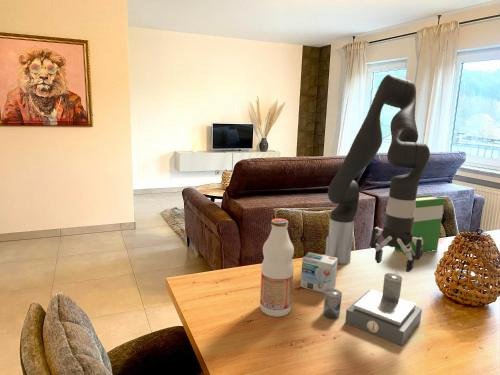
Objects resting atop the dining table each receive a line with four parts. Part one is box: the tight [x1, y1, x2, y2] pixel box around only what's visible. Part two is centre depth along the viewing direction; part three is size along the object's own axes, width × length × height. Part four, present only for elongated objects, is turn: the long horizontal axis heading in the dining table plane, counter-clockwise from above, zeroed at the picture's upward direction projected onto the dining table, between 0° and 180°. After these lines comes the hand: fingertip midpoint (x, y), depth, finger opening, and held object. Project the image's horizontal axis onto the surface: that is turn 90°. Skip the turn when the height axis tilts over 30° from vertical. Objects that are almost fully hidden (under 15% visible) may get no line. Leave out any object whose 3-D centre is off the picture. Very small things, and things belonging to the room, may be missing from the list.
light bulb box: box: [300, 251, 338, 294], centre depth 128 cm, size 11×7×11 cm, turn 62°
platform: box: [353, 288, 417, 326], centre depth 108 cm, size 13×13×1 cm
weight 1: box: [322, 288, 343, 319], centre depth 111 cm, size 5×5×7 cm
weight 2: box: [382, 272, 403, 303], centre depth 110 cm, size 5×5×7 cm
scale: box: [344, 290, 423, 346], centre depth 108 cm, size 16×16×4 cm
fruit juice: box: [259, 218, 295, 318], centre depth 110 cm, size 9×9×28 cm
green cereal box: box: [394, 194, 446, 255], centre depth 164 cm, size 18×7×24 cm, turn 114°
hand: (393, 266), depth 109 cm, fingers open, 8 cm apart
